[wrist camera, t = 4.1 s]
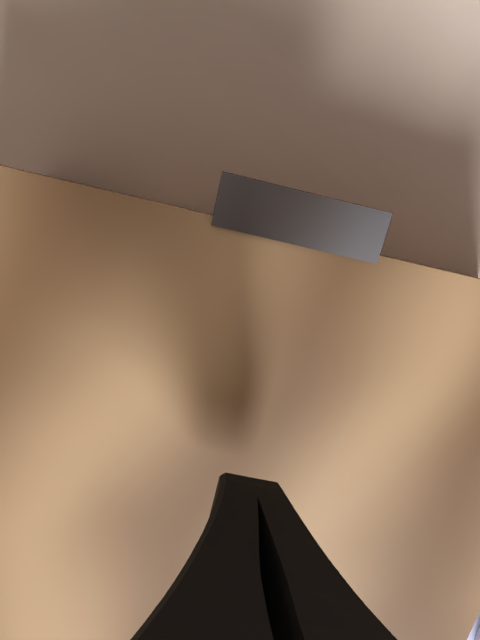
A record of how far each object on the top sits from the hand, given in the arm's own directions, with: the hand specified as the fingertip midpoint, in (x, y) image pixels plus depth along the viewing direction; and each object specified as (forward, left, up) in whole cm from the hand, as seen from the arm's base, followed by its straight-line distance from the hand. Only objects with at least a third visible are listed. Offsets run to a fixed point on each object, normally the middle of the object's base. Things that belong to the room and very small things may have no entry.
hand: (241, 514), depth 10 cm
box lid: (0, 0, -2) cm, 2 cm away
